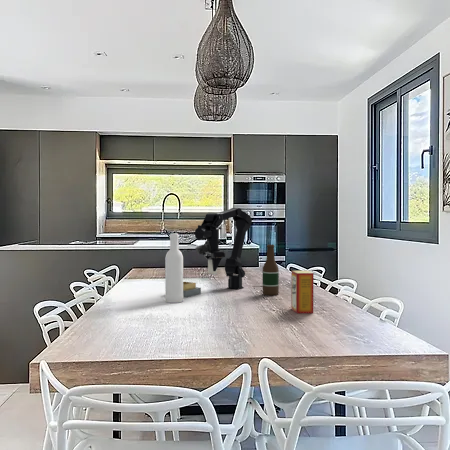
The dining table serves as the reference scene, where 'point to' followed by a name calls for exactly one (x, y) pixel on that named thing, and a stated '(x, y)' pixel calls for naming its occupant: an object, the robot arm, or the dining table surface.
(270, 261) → the beer bottle
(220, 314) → the dining table surface
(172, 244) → the bottle
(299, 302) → the baking soda box
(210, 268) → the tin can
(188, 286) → the gearbox
